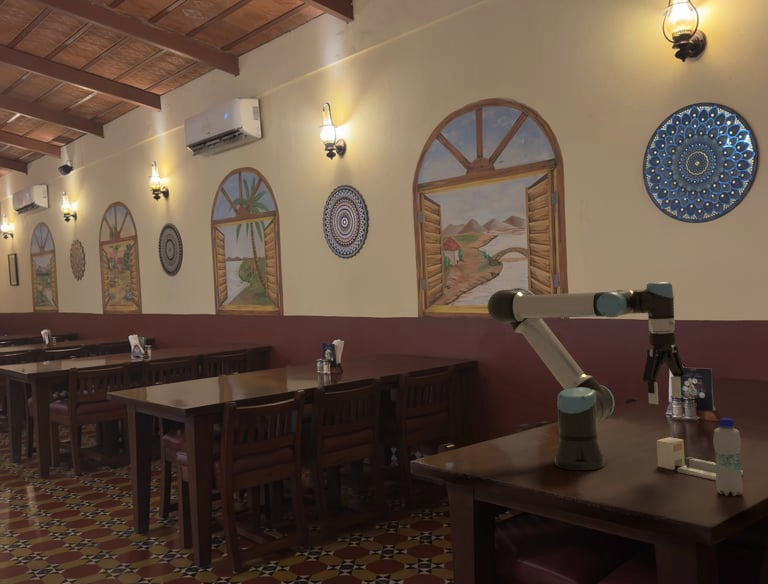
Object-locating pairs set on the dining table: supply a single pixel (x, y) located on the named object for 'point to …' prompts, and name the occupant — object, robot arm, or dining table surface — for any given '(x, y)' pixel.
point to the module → (670, 453)
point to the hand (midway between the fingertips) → (665, 400)
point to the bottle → (728, 458)
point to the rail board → (700, 468)
